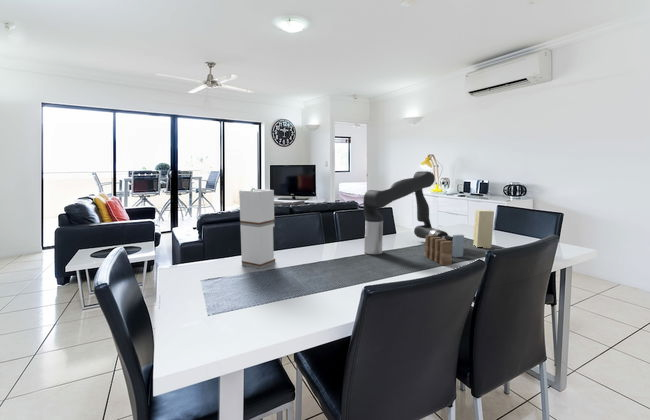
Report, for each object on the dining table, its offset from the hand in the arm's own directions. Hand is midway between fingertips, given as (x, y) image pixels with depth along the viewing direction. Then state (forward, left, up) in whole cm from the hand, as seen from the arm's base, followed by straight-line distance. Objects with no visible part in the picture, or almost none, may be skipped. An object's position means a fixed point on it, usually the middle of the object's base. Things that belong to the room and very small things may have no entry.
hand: (455, 243), depth 175 cm
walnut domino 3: (-9, -14, -7) cm, 18 cm away
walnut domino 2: (-11, -10, -7) cm, 16 cm away
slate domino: (+1, -2, -7) cm, 7 cm away
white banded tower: (-94, -34, -7) cm, 100 cm away
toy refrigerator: (+18, +23, -7) cm, 30 cm away
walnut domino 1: (-13, -5, -7) cm, 15 cm away
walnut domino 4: (-7, -18, -7) cm, 20 cm away
